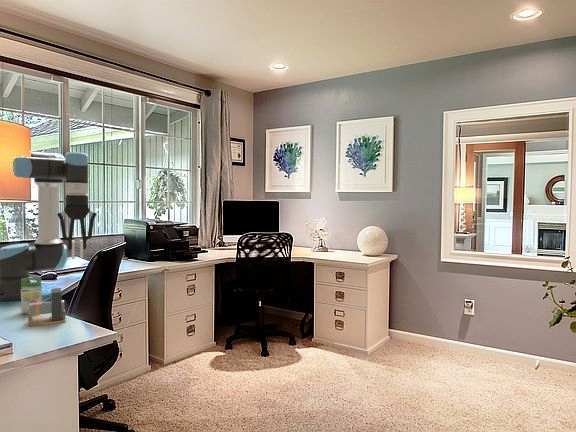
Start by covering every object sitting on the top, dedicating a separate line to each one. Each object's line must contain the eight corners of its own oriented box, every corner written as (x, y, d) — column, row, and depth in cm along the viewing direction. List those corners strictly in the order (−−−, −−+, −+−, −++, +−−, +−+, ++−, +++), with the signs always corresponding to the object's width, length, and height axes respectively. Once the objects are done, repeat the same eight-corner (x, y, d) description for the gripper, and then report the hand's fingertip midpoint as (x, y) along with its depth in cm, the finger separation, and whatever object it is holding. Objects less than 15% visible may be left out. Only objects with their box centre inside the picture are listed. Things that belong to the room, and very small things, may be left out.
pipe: (29, 313, 156) (29, 302, 155) (63, 309, 161) (63, 299, 161) (29, 316, 152) (29, 305, 152) (64, 312, 158) (64, 301, 157)
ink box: (21, 314, 165) (20, 279, 164) (21, 312, 168) (21, 278, 167) (42, 312, 168) (41, 278, 168) (42, 310, 172) (41, 276, 171)
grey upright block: (51, 315, 161) (51, 288, 160) (60, 314, 162) (60, 287, 162) (52, 320, 154) (52, 292, 154) (61, 319, 155) (61, 292, 155)
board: (28, 320, 157) (28, 311, 157) (64, 316, 163) (64, 308, 163) (28, 326, 150) (28, 317, 150) (65, 321, 156) (65, 313, 156)
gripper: (53, 194, 153) (54, 260, 154) (100, 195, 160) (100, 258, 161) (53, 194, 159) (53, 257, 160) (98, 195, 167) (98, 255, 168)
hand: (77, 257), depth 161 cm, fingers open, 2 cm apart
